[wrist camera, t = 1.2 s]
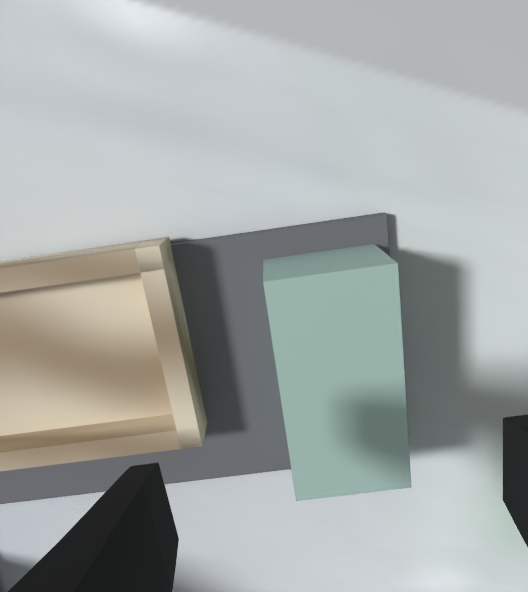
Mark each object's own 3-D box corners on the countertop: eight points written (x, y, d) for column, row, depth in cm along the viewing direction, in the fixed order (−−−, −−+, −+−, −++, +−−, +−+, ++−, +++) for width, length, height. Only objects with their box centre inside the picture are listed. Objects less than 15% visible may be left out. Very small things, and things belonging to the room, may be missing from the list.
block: (388, 436, 19) (411, 487, 16) (291, 448, 19) (296, 501, 16) (374, 244, 16) (398, 263, 13) (263, 259, 16) (263, 281, 14)
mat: (399, 449, 19) (402, 455, 19) (-55, 504, 20) (-62, 511, 20) (383, 212, 16) (386, 214, 16) (-147, 289, 17) (-157, 292, 17)
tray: (207, 422, 18) (202, 446, 17) (-68, 457, 19) (-97, 483, 17) (168, 236, 16) (158, 245, 15) (-142, 282, 17) (-183, 295, 15)
